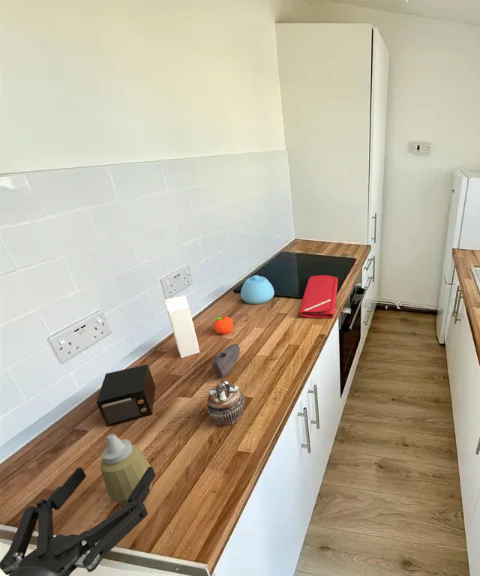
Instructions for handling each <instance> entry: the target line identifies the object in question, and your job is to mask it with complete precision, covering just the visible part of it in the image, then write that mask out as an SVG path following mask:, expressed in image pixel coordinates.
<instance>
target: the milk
mask: <svg viewBox="0 0 480 576" xmlns="http://www.w3.org/2000/svg"><path fill="white" fill-rule="evenodd" d="M164 303H165V308H166V312H167V315H168V318H169V322H170V327H171V329H172V333H173V336H174V337H173V338H174V340H175V343H176V348H177V350H178V354H179V356H180V359H184V358H188V357H190V356H193V355H196V354H200V352H201V351H200V346H199V343H198V338H197V333H196V329H195V325H194V321H193V318H192V312H191V309H190V305H189V303H188V300H187V296H186V295H180V296H176V297H170V298H167V299H166V298H165V300H164Z"/></svg>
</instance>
